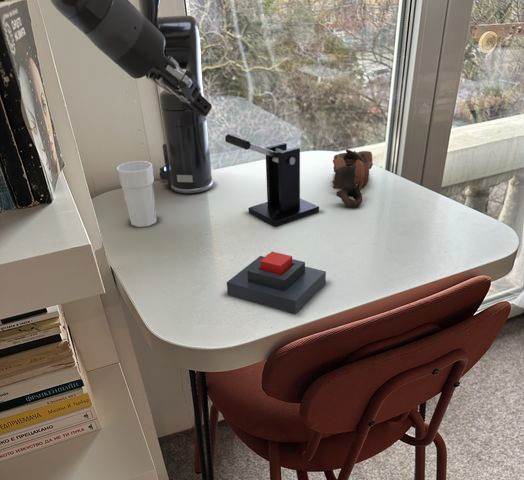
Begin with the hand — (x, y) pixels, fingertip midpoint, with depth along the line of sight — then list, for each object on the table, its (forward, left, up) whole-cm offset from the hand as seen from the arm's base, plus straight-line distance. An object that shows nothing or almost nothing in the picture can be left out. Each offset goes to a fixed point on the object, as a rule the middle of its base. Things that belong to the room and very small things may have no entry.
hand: (206, 110), depth 91 cm
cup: (-17, -2, -22) cm, 28 cm away
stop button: (+20, -13, -18) cm, 30 cm away
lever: (+4, +10, -10) cm, 14 cm away
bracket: (+6, +14, -22) cm, 27 cm away
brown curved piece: (+7, +34, -18) cm, 39 cm away
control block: (+20, -13, -22) cm, 32 cm away
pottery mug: (+12, +24, -17) cm, 32 cm away
